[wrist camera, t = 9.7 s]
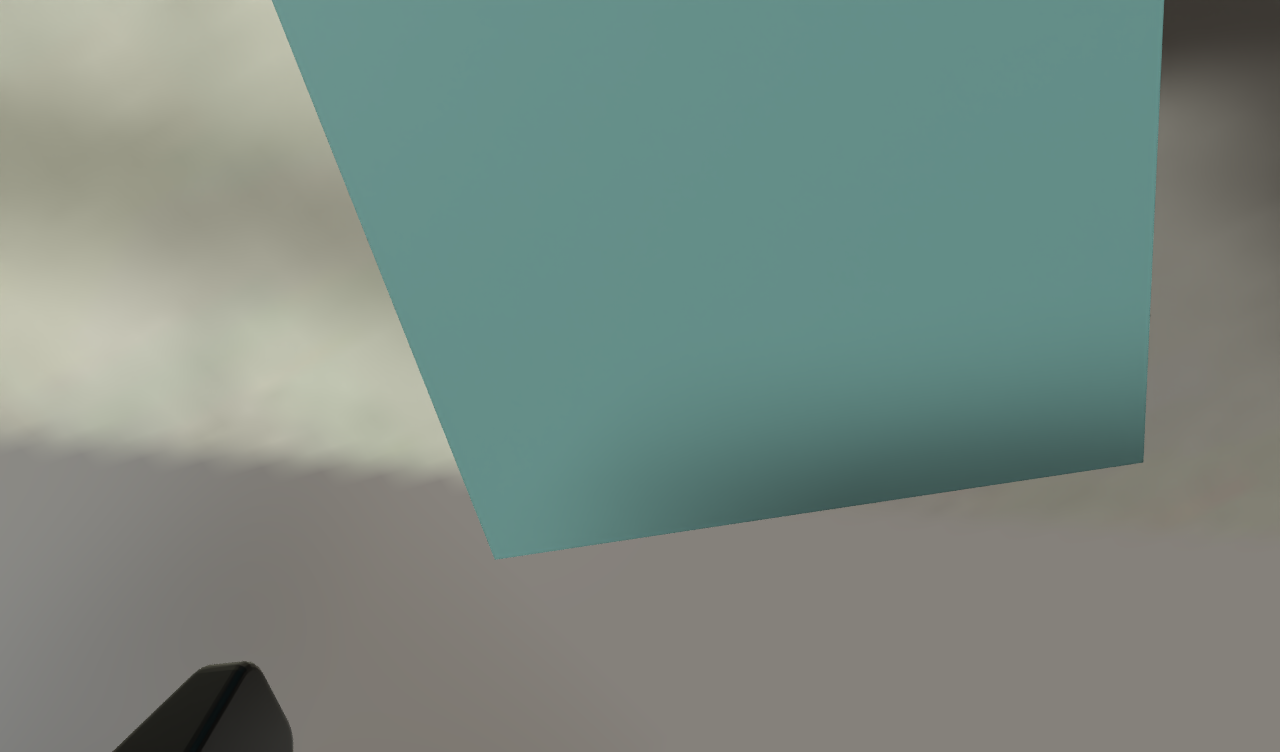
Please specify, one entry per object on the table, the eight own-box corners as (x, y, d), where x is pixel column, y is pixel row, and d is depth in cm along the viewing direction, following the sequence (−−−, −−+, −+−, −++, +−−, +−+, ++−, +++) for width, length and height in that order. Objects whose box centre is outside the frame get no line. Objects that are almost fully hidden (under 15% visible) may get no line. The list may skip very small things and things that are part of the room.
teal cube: (550, 262, 13) (495, 559, 9) (411, -203, 10) (235, -91, 6) (983, 181, 12) (1143, 462, 8) (956, -342, 10) (1177, -321, 5)
